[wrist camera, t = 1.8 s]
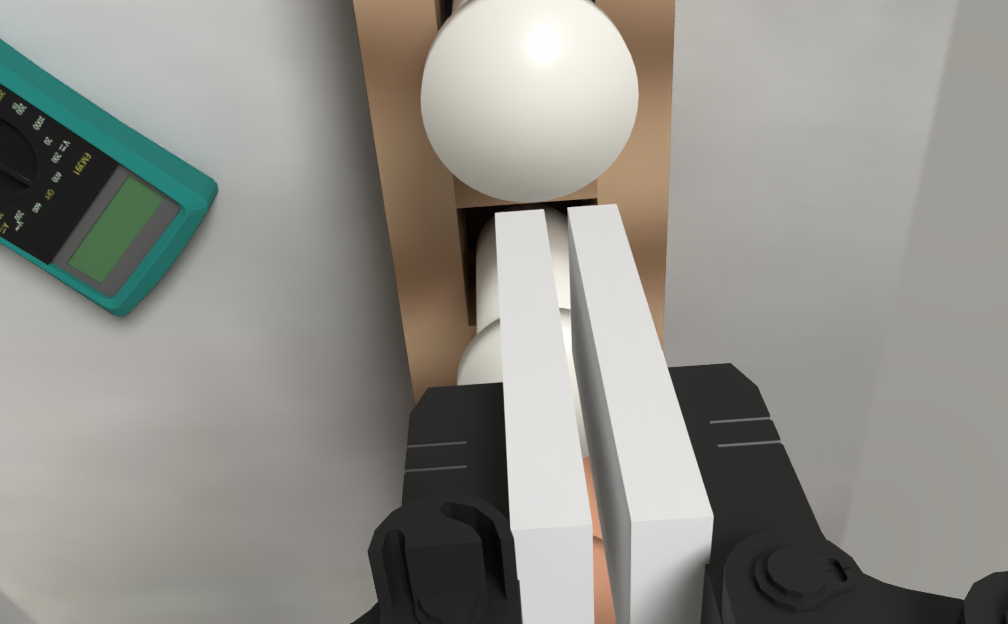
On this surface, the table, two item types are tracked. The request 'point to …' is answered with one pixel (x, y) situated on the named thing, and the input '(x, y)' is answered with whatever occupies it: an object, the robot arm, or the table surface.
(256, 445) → the table surface
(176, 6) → the table surface
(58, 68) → the table surface
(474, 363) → the plug mid
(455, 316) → the board
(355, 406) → the table surface
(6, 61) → the digital multimeter
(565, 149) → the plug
